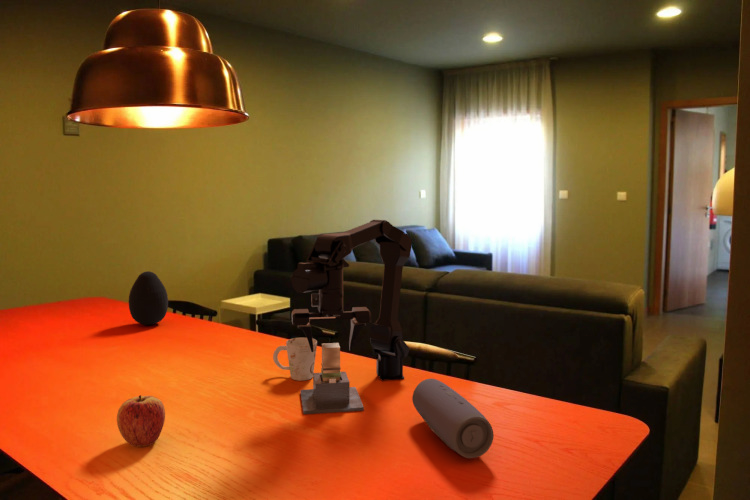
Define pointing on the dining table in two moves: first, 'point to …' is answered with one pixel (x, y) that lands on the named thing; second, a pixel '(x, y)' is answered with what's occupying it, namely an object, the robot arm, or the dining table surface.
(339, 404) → the stand base
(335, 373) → the column
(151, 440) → the apple
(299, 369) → the mug
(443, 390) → the bluetooth speaker
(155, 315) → the egg
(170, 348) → the dining table surface
